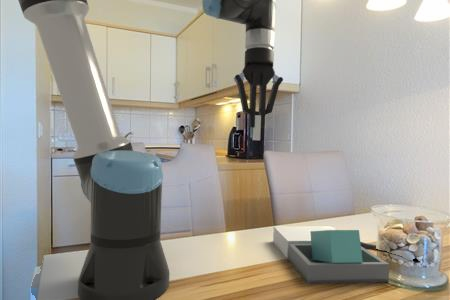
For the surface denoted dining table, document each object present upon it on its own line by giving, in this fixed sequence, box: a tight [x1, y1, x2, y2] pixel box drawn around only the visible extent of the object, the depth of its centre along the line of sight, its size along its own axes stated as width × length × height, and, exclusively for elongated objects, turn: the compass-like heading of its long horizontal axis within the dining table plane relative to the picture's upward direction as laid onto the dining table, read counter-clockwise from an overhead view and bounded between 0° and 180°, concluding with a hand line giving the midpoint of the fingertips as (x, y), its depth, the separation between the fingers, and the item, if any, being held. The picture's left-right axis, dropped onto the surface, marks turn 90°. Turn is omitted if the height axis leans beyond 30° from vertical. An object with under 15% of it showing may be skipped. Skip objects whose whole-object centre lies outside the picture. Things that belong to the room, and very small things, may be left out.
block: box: [310, 229, 363, 263], centre depth 66 cm, size 6×6×10 cm
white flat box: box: [272, 225, 338, 260], centre depth 78 cm, size 16×12×4 cm
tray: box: [287, 244, 390, 285], centre depth 66 cm, size 16×12×4 cm
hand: (256, 140), depth 84 cm, fingers closed
